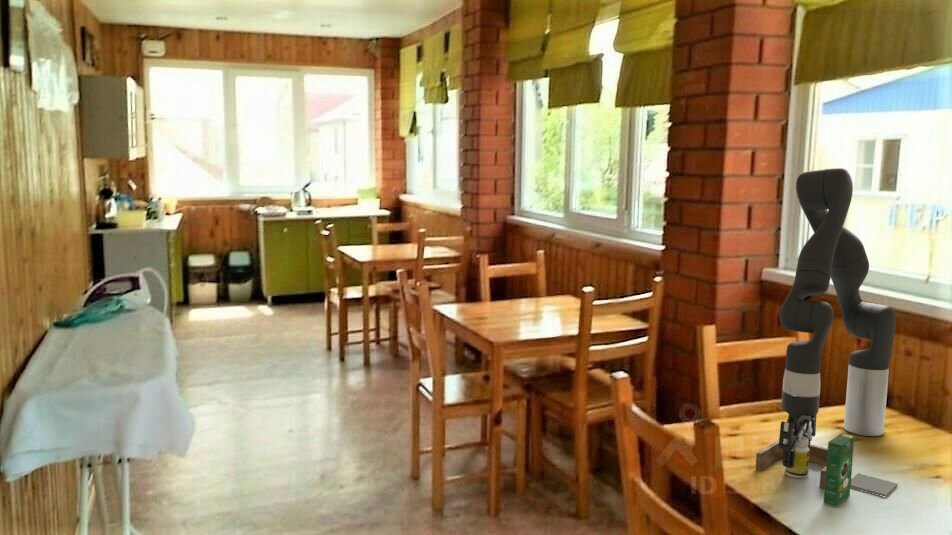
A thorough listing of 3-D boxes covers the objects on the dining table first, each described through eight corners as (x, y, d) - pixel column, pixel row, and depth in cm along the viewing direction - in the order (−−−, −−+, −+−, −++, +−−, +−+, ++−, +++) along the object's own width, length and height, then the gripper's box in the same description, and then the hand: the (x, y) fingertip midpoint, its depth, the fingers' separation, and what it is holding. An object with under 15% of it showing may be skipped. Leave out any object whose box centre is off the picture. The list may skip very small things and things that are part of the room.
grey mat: (858, 475, 171) (858, 473, 171) (897, 486, 165) (897, 483, 165) (845, 486, 165) (845, 483, 165) (885, 497, 160) (886, 494, 160)
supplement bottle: (810, 479, 168) (812, 442, 167) (787, 477, 169) (789, 440, 168) (805, 471, 173) (807, 435, 172) (782, 469, 174) (785, 433, 173)
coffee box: (836, 491, 162) (841, 431, 161) (850, 495, 160) (855, 435, 159) (822, 503, 157) (826, 441, 155) (837, 508, 155) (841, 445, 153)
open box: (781, 453, 184) (782, 437, 183) (847, 471, 173) (849, 454, 173) (755, 469, 174) (756, 452, 173) (824, 489, 163) (825, 471, 163)
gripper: (796, 380, 176) (792, 449, 179) (770, 393, 166) (765, 465, 168) (830, 387, 171) (825, 458, 173) (805, 400, 161) (800, 475, 163)
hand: (795, 461), depth 171 cm, fingers open, 8 cm apart
